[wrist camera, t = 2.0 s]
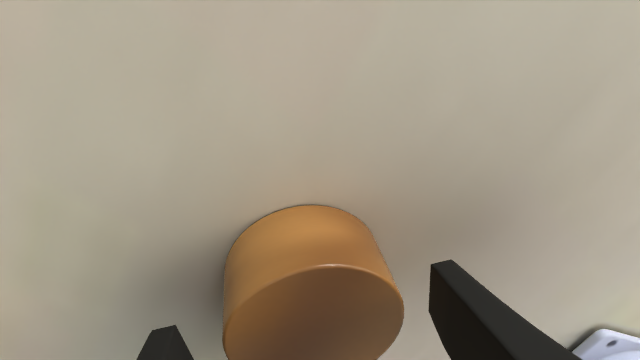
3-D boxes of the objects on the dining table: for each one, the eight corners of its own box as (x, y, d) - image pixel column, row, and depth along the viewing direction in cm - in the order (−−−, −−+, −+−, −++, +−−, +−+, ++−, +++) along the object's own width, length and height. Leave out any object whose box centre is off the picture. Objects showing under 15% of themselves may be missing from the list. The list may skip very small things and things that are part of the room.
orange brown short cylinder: (404, 229, 12) (440, 289, 10) (332, 328, 14) (349, 396, 12) (262, 182, 11) (269, 244, 8) (201, 303, 13) (195, 378, 10)
